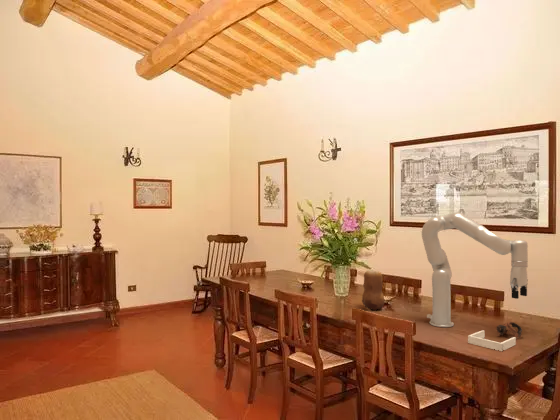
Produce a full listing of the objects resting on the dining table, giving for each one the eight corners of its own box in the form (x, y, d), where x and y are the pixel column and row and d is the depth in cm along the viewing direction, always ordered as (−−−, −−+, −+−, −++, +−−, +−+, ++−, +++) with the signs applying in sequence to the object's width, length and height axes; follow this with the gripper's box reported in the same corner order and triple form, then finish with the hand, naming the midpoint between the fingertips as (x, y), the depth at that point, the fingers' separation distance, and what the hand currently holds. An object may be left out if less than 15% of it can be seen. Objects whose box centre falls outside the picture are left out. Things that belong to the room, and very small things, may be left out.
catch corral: (468, 343, 215) (468, 335, 215) (482, 337, 225) (482, 330, 225) (501, 351, 203) (501, 343, 203) (515, 344, 212) (515, 337, 212)
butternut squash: (382, 307, 290) (382, 268, 290) (385, 312, 277) (385, 271, 276) (361, 306, 291) (361, 268, 291) (363, 311, 278) (363, 271, 278)
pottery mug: (509, 333, 232) (518, 321, 229) (519, 346, 224) (527, 334, 220) (489, 329, 230) (497, 316, 227) (498, 342, 222) (506, 329, 218)
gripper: (519, 261, 240) (519, 293, 240) (504, 264, 229) (504, 298, 229) (534, 263, 234) (534, 295, 234) (519, 266, 223) (519, 300, 223)
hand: (519, 296), depth 232 cm, fingers open, 9 cm apart
